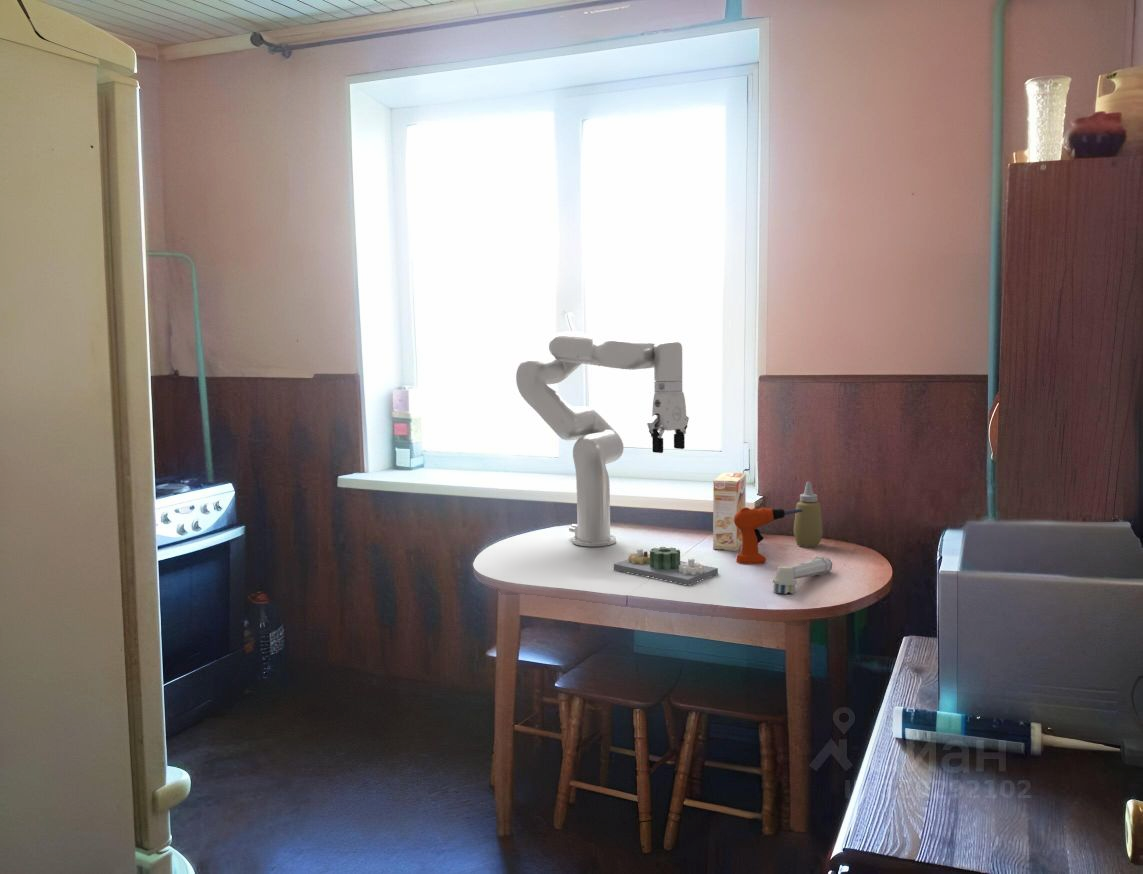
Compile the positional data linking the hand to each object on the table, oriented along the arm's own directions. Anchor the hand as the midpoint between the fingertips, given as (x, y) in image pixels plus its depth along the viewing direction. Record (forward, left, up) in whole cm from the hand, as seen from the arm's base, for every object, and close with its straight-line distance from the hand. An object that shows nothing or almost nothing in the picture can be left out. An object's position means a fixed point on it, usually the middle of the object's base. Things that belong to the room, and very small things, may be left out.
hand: (668, 450), depth 241 cm
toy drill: (+26, +8, -28) cm, 39 cm away
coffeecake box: (+8, +18, -28) cm, 35 cm away
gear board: (+11, -17, -28) cm, 35 cm away
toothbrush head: (+42, -4, -29) cm, 51 cm away
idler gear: (+11, -17, -27) cm, 34 cm away
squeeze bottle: (+26, +30, -28) cm, 49 cm away
